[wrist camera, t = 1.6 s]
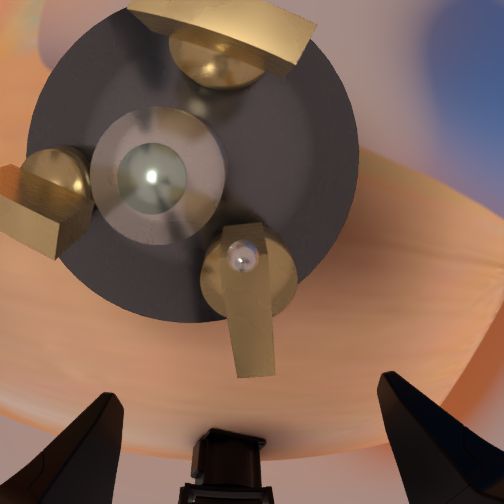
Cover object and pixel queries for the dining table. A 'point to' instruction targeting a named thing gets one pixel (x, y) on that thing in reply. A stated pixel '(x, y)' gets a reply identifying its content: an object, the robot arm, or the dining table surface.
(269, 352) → the wing knob
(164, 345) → the dining table surface
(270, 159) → the levelling base
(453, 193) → the dining table surface
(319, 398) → the dining table surface
